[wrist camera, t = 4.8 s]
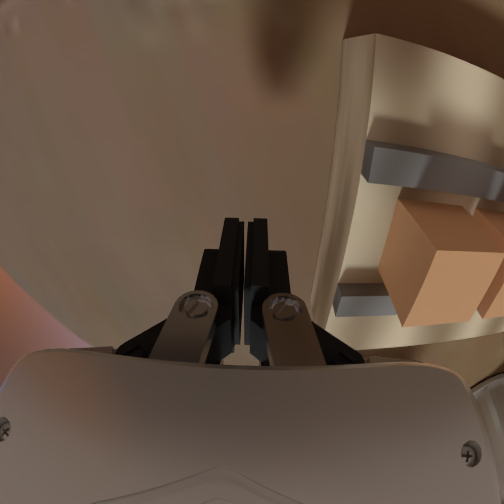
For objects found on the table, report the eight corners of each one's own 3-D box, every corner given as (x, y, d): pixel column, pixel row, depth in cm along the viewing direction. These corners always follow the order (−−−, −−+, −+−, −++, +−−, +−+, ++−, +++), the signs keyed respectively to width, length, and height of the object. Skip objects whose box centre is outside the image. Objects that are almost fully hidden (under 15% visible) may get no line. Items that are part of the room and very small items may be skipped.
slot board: (547, 114, 12) (600, 142, 7) (484, 293, 23) (511, 339, 18) (342, 39, 12) (386, 31, 8) (310, 298, 23) (320, 363, 18)
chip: (462, 206, 12) (505, 253, 9) (438, 268, 15) (468, 320, 11) (397, 198, 12) (436, 250, 9) (377, 268, 15) (402, 327, 12)
